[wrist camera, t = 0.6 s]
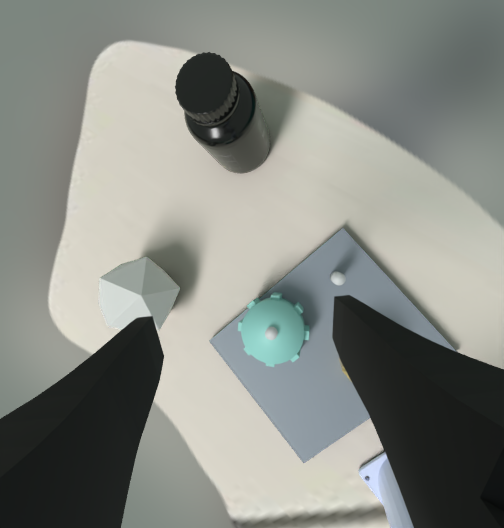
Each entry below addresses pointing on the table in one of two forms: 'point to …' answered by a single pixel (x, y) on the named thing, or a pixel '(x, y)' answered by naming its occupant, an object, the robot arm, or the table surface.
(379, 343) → the robot arm
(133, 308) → the die
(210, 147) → the supplement bottle
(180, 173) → the table surface
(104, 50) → the table surface
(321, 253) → the gear board
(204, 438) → the table surface
